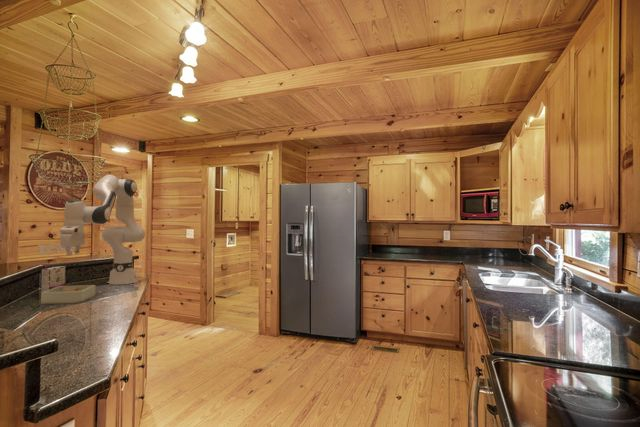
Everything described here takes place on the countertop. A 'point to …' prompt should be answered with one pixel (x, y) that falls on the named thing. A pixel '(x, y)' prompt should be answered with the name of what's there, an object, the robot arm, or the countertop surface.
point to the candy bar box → (53, 277)
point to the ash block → (70, 289)
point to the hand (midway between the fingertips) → (73, 254)
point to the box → (68, 295)
